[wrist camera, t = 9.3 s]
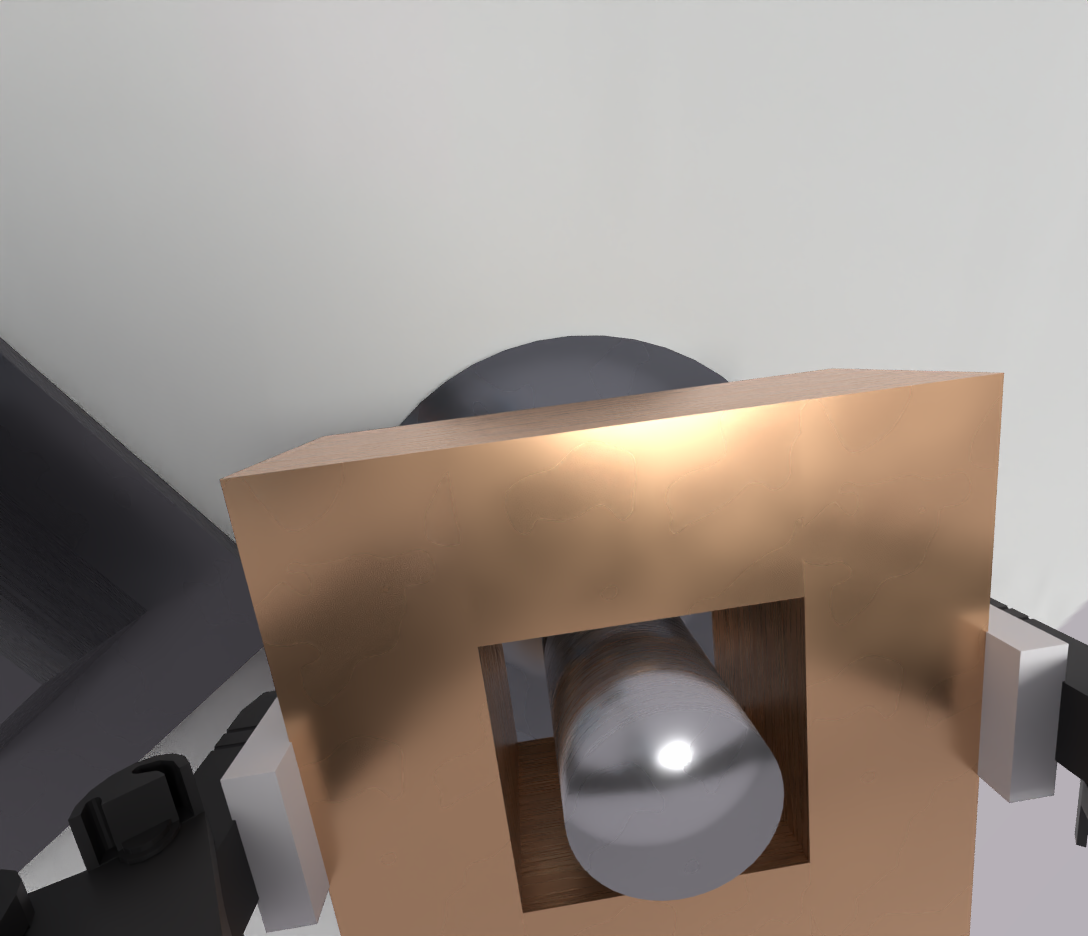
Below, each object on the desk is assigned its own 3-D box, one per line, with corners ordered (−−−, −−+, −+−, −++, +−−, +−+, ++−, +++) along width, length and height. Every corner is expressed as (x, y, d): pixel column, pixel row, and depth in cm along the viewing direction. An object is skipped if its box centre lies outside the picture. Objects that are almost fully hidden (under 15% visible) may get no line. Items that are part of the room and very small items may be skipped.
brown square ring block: (323, 436, 11) (219, 479, 7) (831, 368, 11) (1004, 372, 7) (416, 863, 13) (378, 1076, 9) (835, 791, 14) (967, 964, 10)
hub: (254, 560, 15) (-80, 824, 7) (606, 228, 14) (768, 13, 5) (565, 832, 18) (621, 1273, 9) (882, 572, 17) (1286, 797, 8)
